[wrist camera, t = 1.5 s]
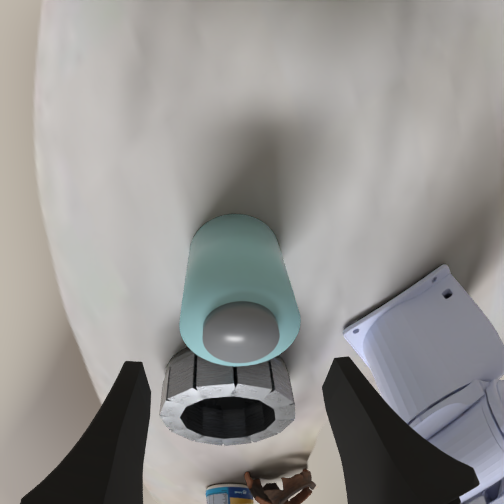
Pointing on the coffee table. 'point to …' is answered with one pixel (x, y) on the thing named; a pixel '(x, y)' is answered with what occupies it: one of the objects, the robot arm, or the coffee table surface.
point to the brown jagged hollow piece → (276, 499)
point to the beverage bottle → (229, 494)
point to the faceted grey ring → (226, 400)
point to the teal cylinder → (237, 294)
